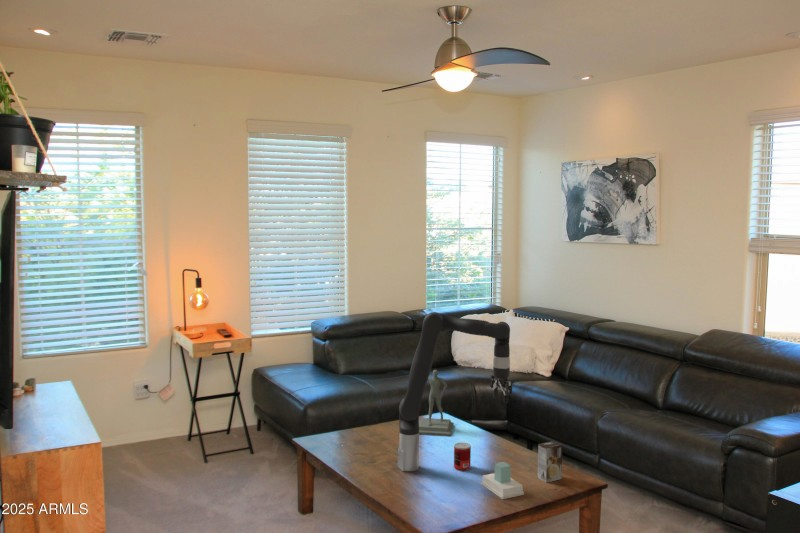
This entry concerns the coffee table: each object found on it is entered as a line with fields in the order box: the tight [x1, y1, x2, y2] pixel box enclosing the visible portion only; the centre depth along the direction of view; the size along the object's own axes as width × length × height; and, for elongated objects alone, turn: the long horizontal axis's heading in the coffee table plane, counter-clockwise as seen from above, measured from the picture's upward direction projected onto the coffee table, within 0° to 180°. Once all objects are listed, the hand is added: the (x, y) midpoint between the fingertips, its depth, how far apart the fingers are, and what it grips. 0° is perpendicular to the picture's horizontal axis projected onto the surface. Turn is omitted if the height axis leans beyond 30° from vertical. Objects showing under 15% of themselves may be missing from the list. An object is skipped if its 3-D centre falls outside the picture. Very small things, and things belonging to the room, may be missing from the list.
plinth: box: [480, 472, 525, 500], centre depth 288 cm, size 11×17×4 cm, turn 24°
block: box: [493, 461, 512, 483], centre depth 288 cm, size 5×5×7 cm
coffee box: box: [537, 440, 563, 483], centre depth 299 cm, size 9×6×16 cm
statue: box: [419, 369, 455, 437], centre depth 365 cm, size 20×19×36 cm
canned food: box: [453, 441, 472, 472], centre depth 312 cm, size 8×8×11 cm
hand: (500, 400), depth 304 cm, fingers open, 8 cm apart
